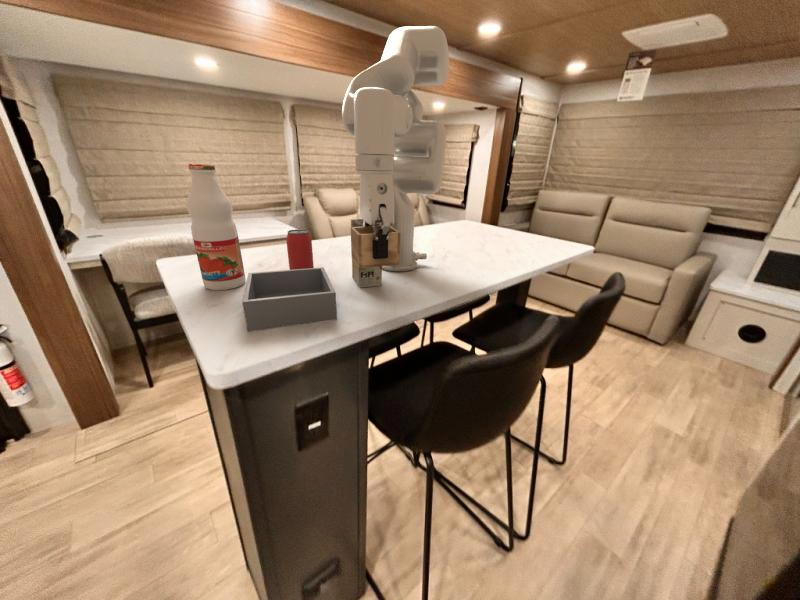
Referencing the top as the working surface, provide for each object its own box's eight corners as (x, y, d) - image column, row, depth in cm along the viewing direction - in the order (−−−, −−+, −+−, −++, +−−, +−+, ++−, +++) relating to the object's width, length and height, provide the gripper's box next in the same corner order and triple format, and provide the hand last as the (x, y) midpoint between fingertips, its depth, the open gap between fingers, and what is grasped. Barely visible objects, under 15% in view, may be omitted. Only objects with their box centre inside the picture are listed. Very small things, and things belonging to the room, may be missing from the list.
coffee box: (382, 285, 82) (383, 224, 75) (359, 288, 79) (358, 225, 73) (372, 274, 89) (373, 218, 83) (351, 276, 87) (349, 218, 81)
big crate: (325, 290, 77) (323, 267, 75) (337, 319, 63) (335, 292, 61) (252, 297, 72) (248, 272, 69) (247, 331, 57) (242, 301, 55)
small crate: (389, 255, 73) (389, 225, 70) (399, 264, 67) (400, 232, 64) (351, 258, 70) (350, 227, 67) (359, 268, 64) (358, 234, 61)
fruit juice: (253, 279, 82) (234, 165, 71) (232, 292, 74) (207, 165, 62) (219, 276, 83) (195, 163, 72) (195, 289, 74) (163, 163, 63)
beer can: (310, 277, 85) (306, 234, 80) (286, 276, 85) (281, 233, 80) (316, 270, 91) (313, 229, 86) (294, 269, 91) (290, 228, 86)
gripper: (409, 167, 54) (405, 264, 62) (379, 163, 69) (379, 241, 76) (368, 166, 52) (369, 267, 59) (346, 162, 66) (349, 243, 74)
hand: (375, 252), depth 68 cm, fingers closed on small crate, 7 cm apart
